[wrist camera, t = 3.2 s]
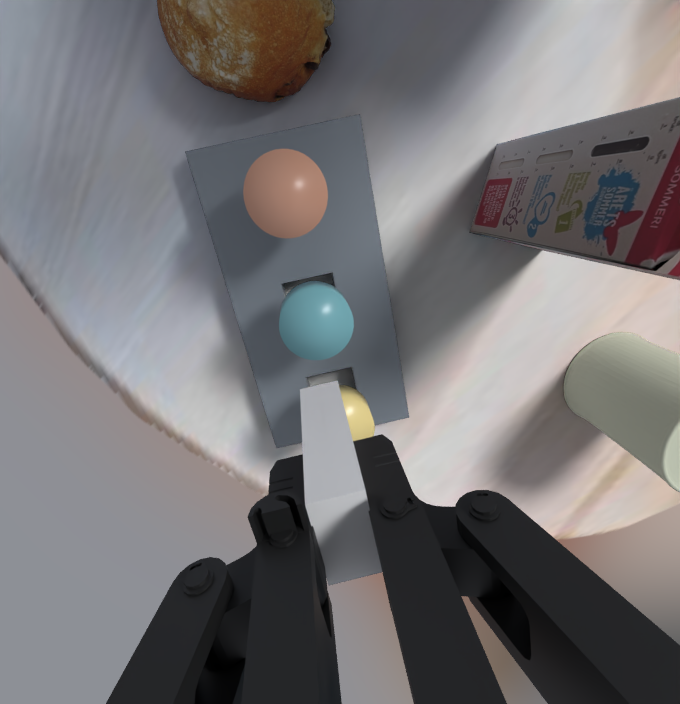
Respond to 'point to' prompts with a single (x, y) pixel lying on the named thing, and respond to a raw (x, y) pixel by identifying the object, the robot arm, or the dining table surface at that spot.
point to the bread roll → (249, 43)
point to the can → (631, 398)
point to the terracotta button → (285, 193)
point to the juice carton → (592, 190)
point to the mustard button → (357, 413)
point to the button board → (305, 269)
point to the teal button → (315, 321)
